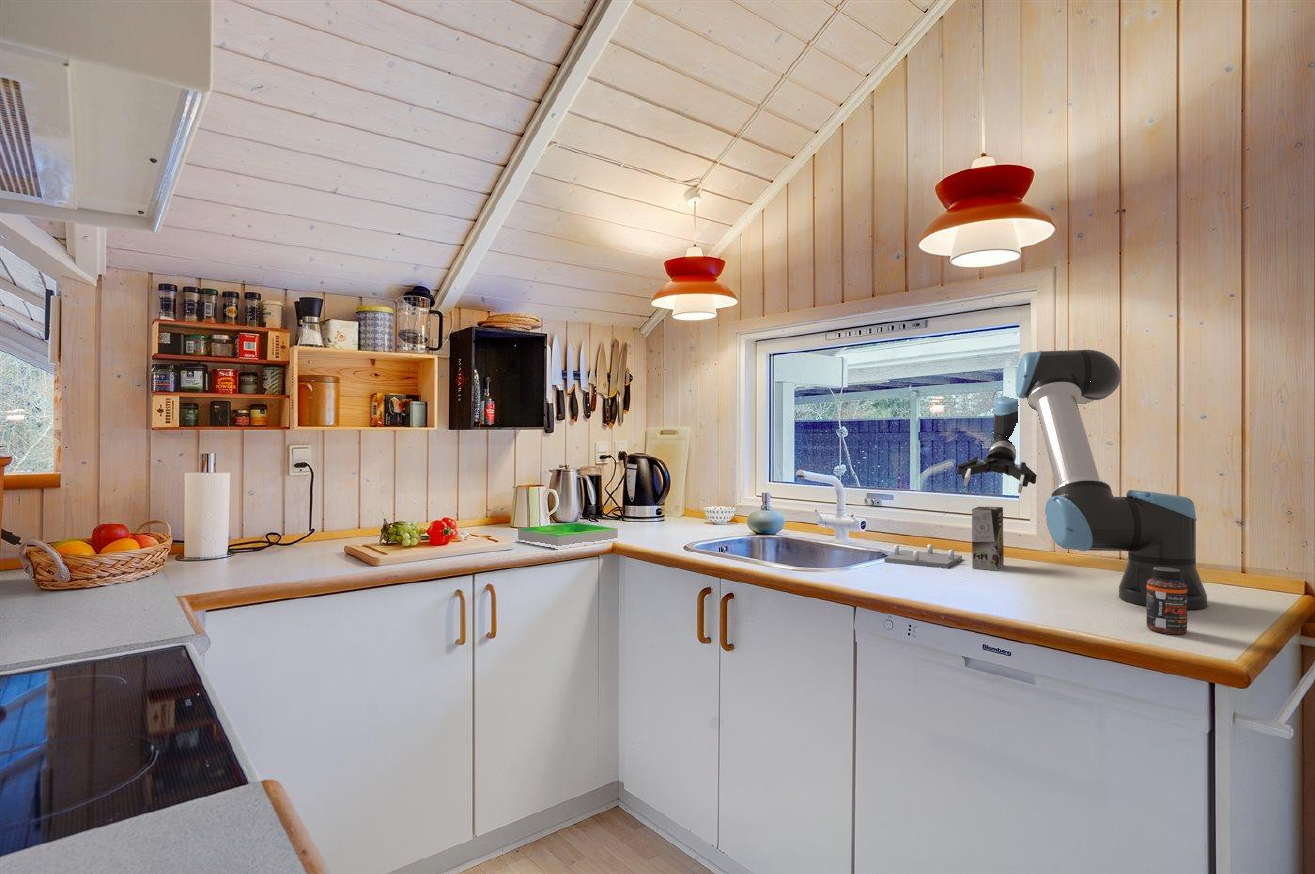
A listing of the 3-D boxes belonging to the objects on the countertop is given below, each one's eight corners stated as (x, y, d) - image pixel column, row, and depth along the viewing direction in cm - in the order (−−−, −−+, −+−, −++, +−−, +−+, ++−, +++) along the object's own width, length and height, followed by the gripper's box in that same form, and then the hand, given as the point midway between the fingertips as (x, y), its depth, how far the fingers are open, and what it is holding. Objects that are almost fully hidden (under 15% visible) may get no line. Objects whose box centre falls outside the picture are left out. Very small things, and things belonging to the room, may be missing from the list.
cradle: (947, 568, 183) (947, 554, 183) (884, 561, 194) (884, 548, 194) (962, 559, 196) (961, 546, 196) (902, 553, 206) (902, 541, 206)
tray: (558, 551, 222) (558, 536, 222) (518, 543, 241) (517, 529, 241) (617, 542, 239) (617, 528, 239) (576, 535, 258) (575, 522, 258)
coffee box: (997, 571, 179) (997, 509, 179) (971, 568, 183) (970, 508, 183) (1004, 565, 186) (1004, 506, 186) (979, 563, 190) (978, 505, 190)
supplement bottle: (1168, 636, 120) (1167, 572, 120) (1138, 627, 126) (1137, 566, 126) (1196, 634, 121) (1195, 570, 121) (1165, 625, 127) (1164, 564, 127)
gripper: (1047, 474, 200) (1042, 504, 183) (956, 463, 213) (943, 490, 196) (1050, 450, 197) (1045, 478, 181) (957, 441, 210) (944, 466, 193)
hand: (992, 485), depth 188 cm, fingers open, 13 cm apart
